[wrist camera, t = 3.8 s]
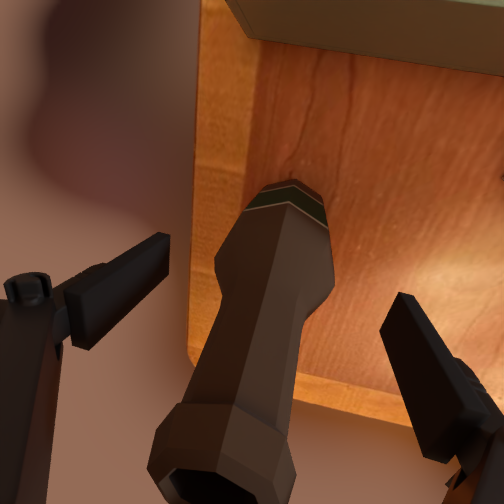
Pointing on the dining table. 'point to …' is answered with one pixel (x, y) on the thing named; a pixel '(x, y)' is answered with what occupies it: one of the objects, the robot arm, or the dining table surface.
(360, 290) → the dining table surface
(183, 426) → the beer bottle
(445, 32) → the open storage bin
